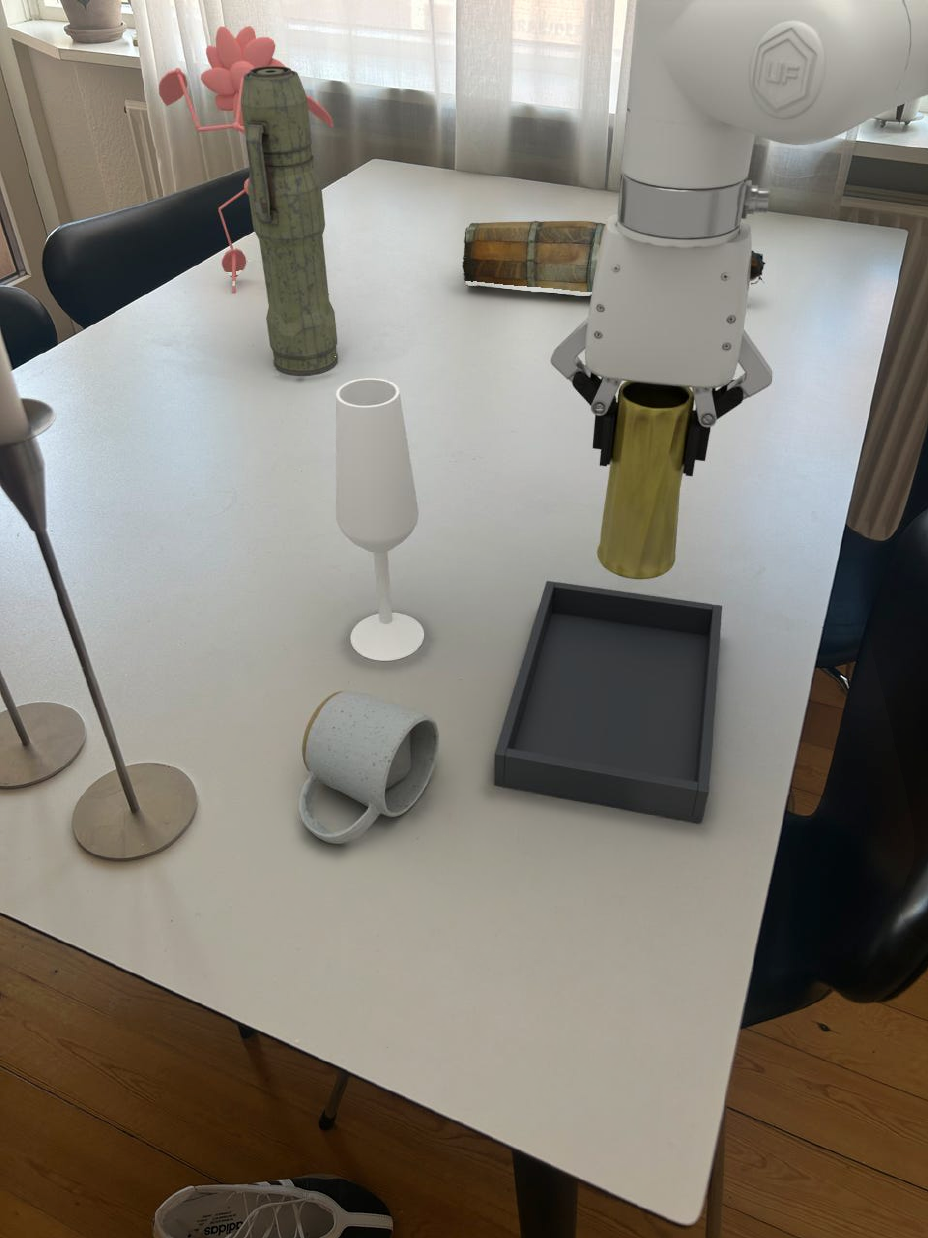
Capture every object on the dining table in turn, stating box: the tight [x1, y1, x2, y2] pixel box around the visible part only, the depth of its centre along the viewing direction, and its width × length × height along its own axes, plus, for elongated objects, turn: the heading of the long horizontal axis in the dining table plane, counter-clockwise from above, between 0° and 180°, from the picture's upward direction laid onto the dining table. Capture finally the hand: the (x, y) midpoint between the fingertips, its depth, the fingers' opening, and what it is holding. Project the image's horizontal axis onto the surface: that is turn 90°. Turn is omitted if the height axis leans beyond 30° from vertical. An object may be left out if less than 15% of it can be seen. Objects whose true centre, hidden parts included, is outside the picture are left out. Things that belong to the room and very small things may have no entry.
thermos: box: [241, 66, 339, 377], centre depth 120 cm, size 9×12×35 cm
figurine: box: [158, 25, 335, 293], centre depth 144 cm, size 15×26×35 cm, turn 80°
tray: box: [493, 580, 723, 825], centre depth 79 cm, size 16×22×4 cm
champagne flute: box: [335, 377, 425, 662], centre depth 79 cm, size 7×7×24 cm
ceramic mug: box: [298, 690, 440, 845], centre depth 71 cm, size 11×8×8 cm
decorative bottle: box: [462, 220, 766, 292], centre depth 144 cm, size 11×11×45 cm
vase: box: [596, 381, 695, 580], centre depth 72 cm, size 6×6×14 cm
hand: (647, 459), depth 71 cm, fingers closed on vase, 5 cm apart
